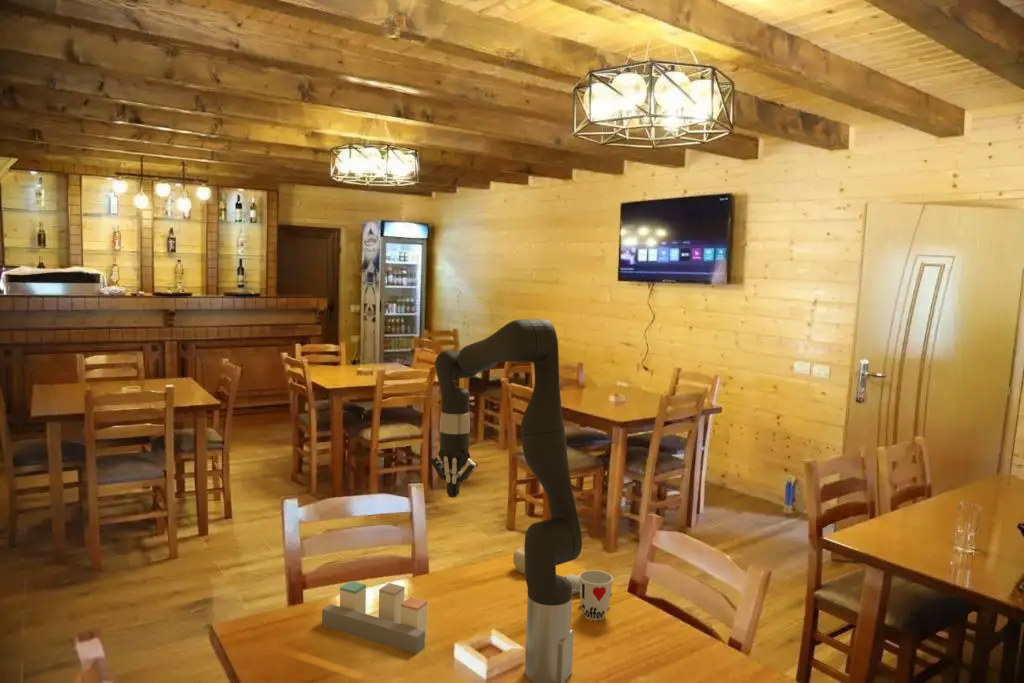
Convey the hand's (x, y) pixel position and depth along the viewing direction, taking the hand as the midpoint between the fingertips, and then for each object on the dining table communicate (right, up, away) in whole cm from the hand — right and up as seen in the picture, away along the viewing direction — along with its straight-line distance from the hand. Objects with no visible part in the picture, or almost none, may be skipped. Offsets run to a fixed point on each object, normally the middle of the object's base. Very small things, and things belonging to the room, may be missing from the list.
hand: (453, 496), depth 179 cm
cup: (+35, -29, -4) cm, 46 cm away
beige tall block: (-14, -27, -13) cm, 32 cm away
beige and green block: (-23, -26, -12) cm, 37 cm away
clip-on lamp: (+31, -28, +5) cm, 42 cm away
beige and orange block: (-7, -28, -19) cm, 34 cm away
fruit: (+19, -26, +21) cm, 38 cm away
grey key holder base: (-14, -28, -13) cm, 34 cm away
